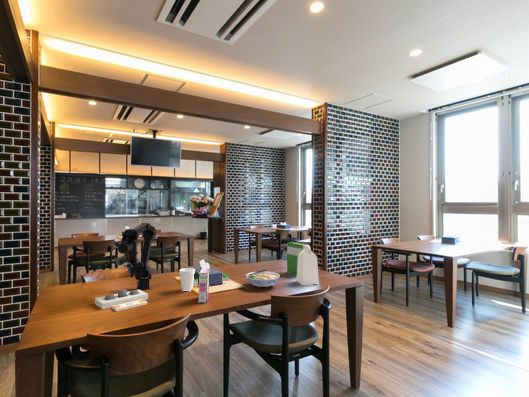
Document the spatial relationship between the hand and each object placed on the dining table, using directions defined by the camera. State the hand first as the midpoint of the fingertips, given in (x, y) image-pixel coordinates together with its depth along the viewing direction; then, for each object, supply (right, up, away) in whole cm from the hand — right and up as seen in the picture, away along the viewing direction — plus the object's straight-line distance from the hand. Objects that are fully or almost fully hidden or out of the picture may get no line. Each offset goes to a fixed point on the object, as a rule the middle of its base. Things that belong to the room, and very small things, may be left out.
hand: (131, 277), depth 177 cm
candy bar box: (+43, -12, -5) cm, 45 cm away
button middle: (-1, -9, -8) cm, 12 cm away
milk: (+107, -13, +35) cm, 113 cm away
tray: (+36, -13, +38) cm, 54 cm away
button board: (-1, -11, -8) cm, 14 cm away
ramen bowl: (+76, -13, +25) cm, 81 cm away
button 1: (-6, -10, -13) cm, 18 cm away
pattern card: (+6, -11, -16) cm, 21 cm away
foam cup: (+29, -12, +14) cm, 34 cm away
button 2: (+3, -10, -4) cm, 11 cm away
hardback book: (+104, -13, +61) cm, 121 cm away
